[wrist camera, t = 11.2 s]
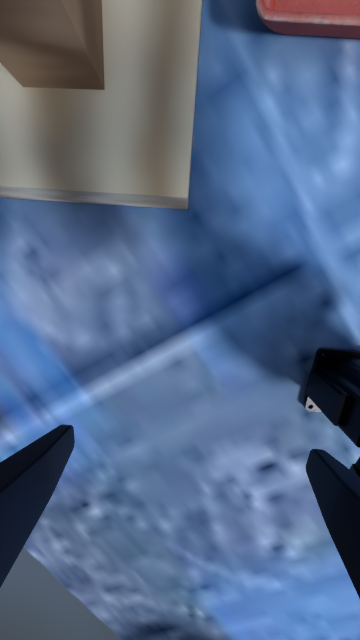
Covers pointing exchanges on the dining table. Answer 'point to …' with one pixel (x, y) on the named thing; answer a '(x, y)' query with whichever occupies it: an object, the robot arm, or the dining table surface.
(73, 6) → the walnut block
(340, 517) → the robot arm
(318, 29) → the plant saucer
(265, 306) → the dining table surface
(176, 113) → the birch base
